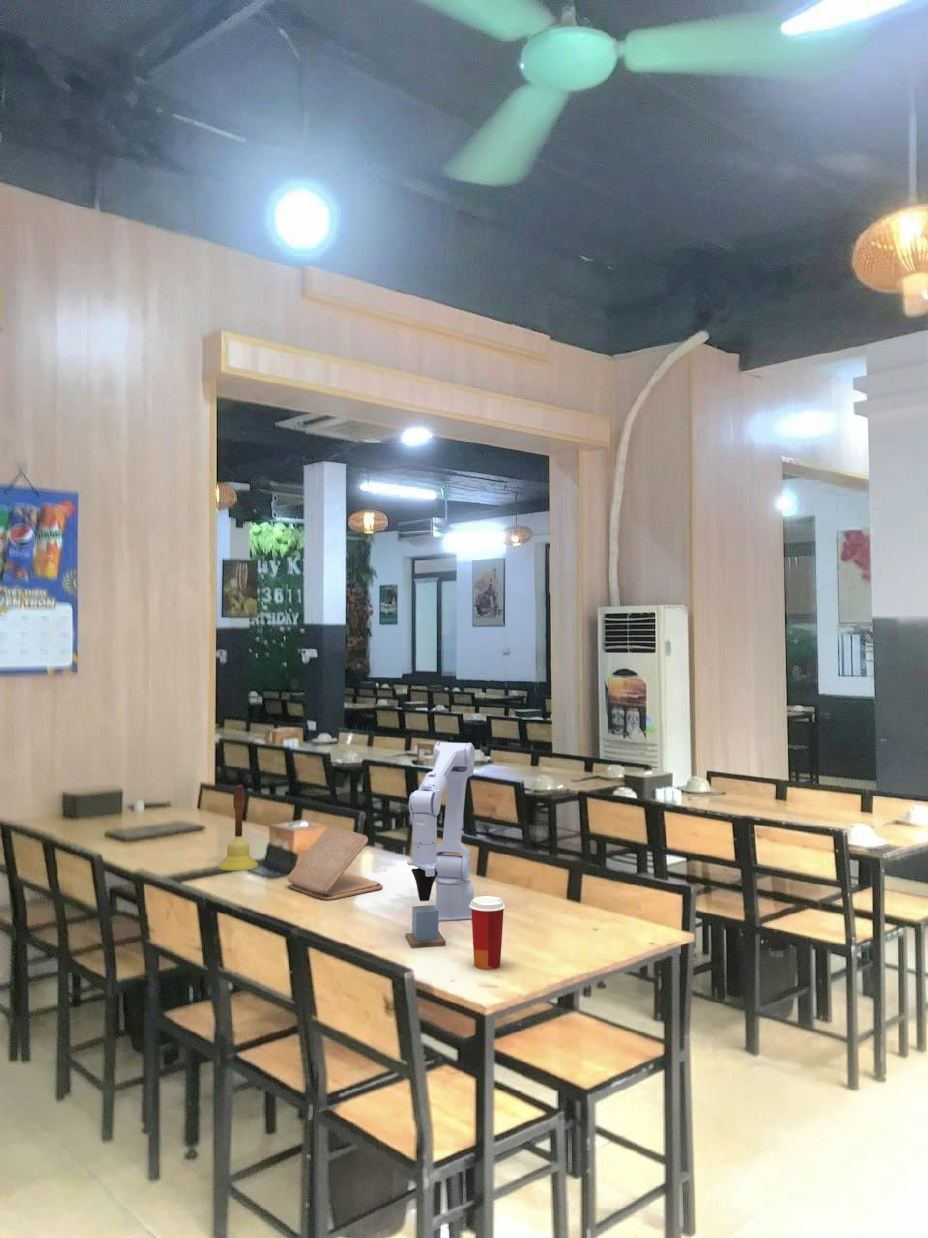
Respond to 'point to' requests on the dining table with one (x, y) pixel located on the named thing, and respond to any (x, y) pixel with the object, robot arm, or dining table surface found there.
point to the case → (332, 867)
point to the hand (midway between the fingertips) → (424, 900)
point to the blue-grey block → (425, 923)
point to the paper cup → (487, 931)
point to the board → (430, 943)
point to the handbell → (238, 840)
